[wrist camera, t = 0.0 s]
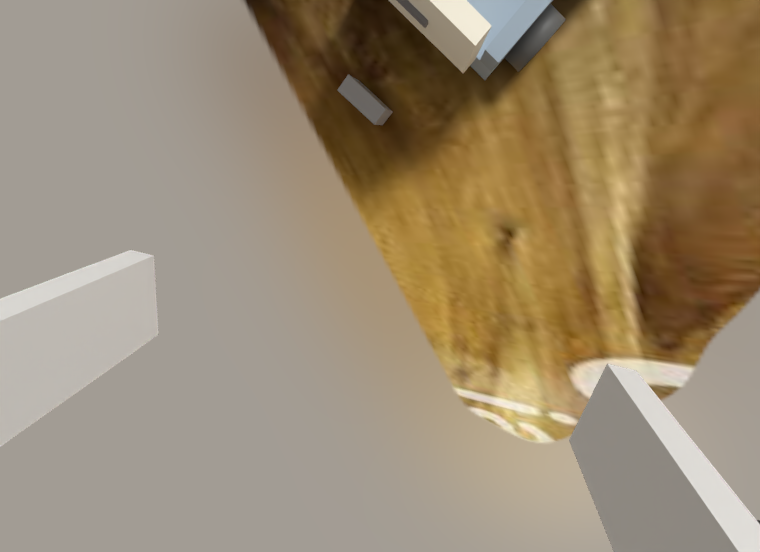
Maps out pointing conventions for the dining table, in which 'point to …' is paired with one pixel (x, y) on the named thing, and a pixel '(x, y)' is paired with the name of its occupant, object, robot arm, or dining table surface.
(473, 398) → the dining table surface
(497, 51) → the trailer
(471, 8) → the tailgate
